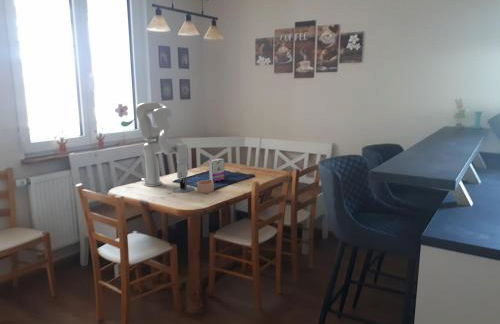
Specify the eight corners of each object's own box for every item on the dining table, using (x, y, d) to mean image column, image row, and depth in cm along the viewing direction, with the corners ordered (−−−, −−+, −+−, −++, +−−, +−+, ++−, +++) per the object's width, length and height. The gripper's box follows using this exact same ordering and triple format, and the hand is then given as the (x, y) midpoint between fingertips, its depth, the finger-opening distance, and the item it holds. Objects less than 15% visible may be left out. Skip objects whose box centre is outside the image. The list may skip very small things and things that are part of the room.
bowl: (195, 192, 270) (195, 184, 269) (200, 188, 281) (199, 180, 279) (211, 193, 268) (211, 184, 267) (215, 188, 279) (214, 180, 278)
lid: (171, 193, 272) (170, 183, 270) (176, 187, 285) (175, 178, 284) (191, 192, 270) (190, 183, 269) (195, 187, 284) (195, 177, 282)
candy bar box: (221, 178, 306) (220, 158, 302) (225, 180, 302) (224, 159, 298) (209, 181, 299) (208, 160, 295) (212, 182, 295) (212, 161, 291)
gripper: (180, 158, 282) (182, 183, 286) (173, 164, 266) (174, 190, 270) (191, 159, 281) (192, 184, 285) (183, 164, 265) (185, 190, 269)
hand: (183, 186), depth 277 cm, fingers open, 4 cm apart
